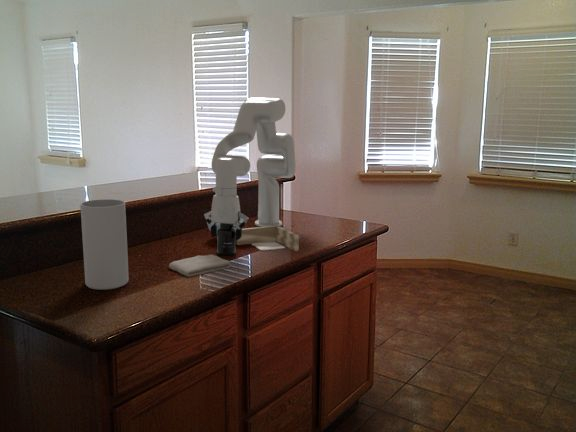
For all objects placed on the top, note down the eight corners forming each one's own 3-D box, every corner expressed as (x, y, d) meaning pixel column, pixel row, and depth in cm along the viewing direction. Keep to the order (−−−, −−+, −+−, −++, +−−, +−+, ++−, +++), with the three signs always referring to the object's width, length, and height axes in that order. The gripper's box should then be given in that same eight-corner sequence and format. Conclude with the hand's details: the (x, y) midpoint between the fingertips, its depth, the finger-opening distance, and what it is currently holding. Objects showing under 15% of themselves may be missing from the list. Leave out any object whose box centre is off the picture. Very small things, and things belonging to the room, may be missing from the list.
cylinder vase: (113, 274, 169) (109, 197, 164) (137, 283, 162) (133, 203, 156) (77, 283, 160) (72, 203, 155) (100, 293, 152) (95, 209, 147)
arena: (236, 244, 208) (236, 229, 207) (277, 239, 216) (277, 225, 215) (254, 256, 192) (255, 240, 191) (298, 250, 200) (298, 235, 199)
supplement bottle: (226, 256, 191) (226, 224, 188) (213, 253, 195) (213, 221, 192) (239, 252, 196) (239, 221, 194) (226, 249, 200) (226, 218, 198)
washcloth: (232, 268, 180) (232, 259, 179) (187, 279, 168) (187, 269, 167) (212, 260, 188) (212, 251, 188) (168, 270, 176) (168, 261, 176)
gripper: (199, 191, 190) (200, 237, 193) (244, 195, 185) (243, 242, 188) (209, 189, 197) (209, 233, 200) (252, 192, 192) (251, 237, 195)
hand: (226, 237), depth 194 cm, fingers open, 9 cm apart
